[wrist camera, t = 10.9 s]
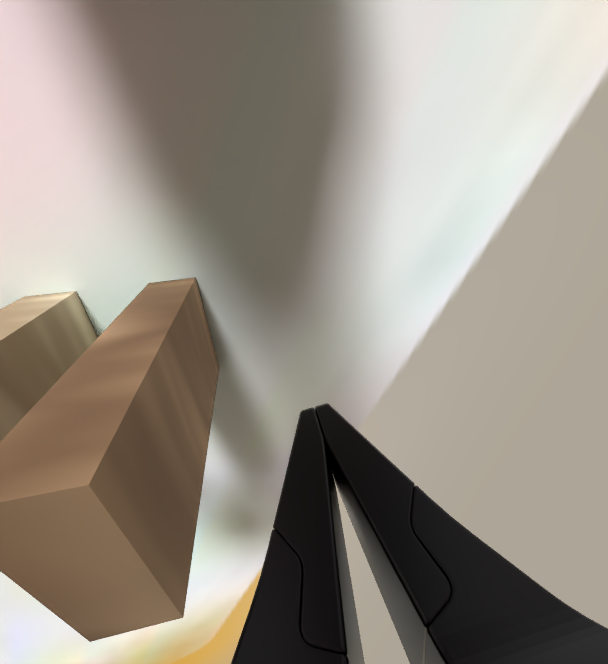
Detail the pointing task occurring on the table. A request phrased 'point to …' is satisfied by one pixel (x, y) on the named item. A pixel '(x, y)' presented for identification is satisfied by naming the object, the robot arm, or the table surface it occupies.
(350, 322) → the table surface
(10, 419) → the light brown wooden block
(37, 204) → the table surface
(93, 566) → the tile
